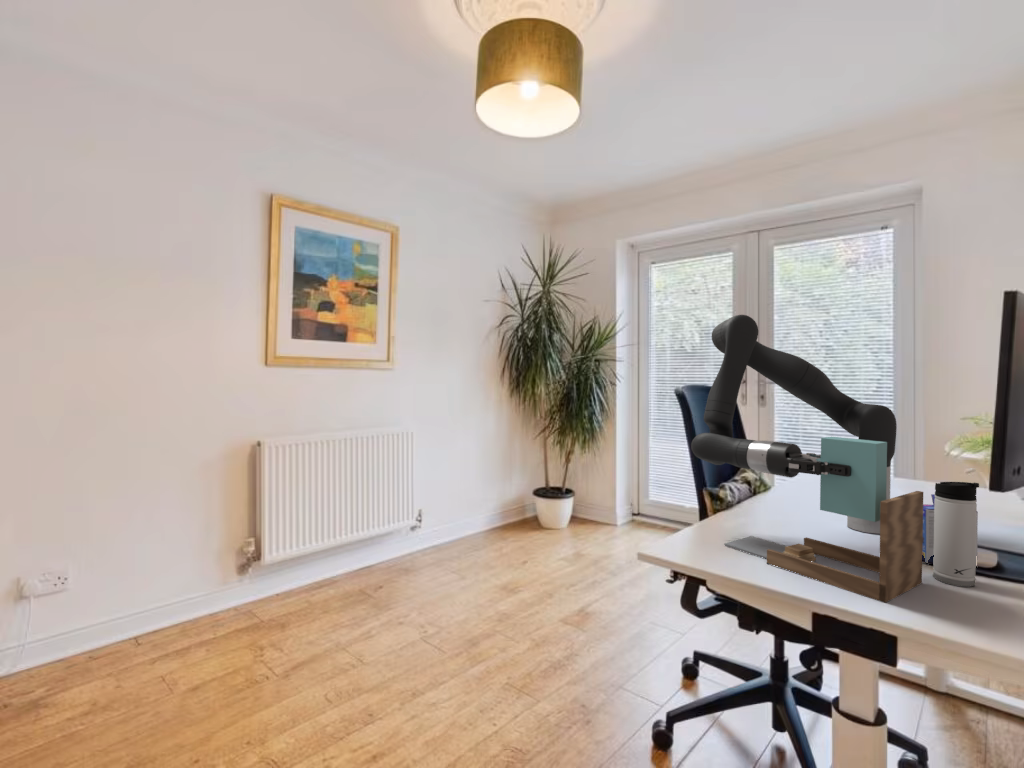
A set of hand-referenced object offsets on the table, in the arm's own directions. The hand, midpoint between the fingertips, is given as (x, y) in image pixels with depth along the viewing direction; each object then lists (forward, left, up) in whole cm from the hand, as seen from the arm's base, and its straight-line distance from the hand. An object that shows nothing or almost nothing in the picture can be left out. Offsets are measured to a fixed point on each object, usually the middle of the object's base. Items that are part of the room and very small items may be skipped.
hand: (856, 470), depth 100 cm
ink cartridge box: (-26, +6, -22) cm, 35 cm away
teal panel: (0, -1, -9) cm, 9 cm away
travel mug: (-15, +11, -22) cm, 29 cm away
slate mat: (0, -20, -22) cm, 29 cm away
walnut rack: (0, -3, -22) cm, 22 cm away
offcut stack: (0, -11, -22) cm, 25 cm away
